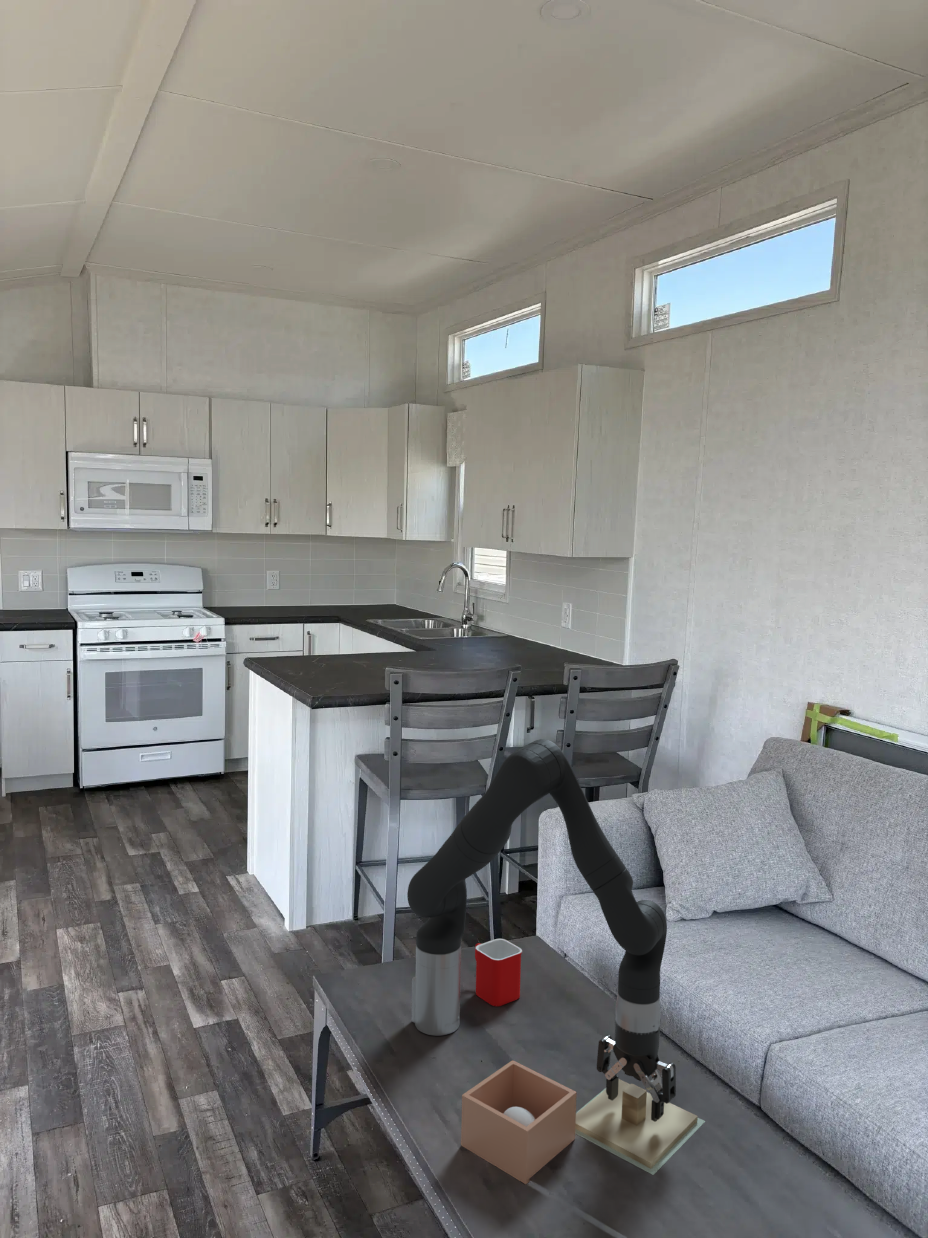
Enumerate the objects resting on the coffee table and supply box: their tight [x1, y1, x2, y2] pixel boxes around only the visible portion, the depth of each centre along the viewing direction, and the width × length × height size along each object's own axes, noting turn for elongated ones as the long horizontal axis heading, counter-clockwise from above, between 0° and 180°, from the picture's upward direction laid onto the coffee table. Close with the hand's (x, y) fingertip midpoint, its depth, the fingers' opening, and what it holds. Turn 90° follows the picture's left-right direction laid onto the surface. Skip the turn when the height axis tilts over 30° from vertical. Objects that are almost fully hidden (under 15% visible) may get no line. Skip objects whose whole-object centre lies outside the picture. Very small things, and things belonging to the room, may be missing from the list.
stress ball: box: [503, 1107, 536, 1127], centre depth 157 cm, size 8×8×7 cm
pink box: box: [460, 1060, 578, 1185], centre depth 156 cm, size 14×14×9 cm
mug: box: [474, 938, 523, 1007], centre depth 206 cm, size 12×8×11 cm
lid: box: [575, 1078, 699, 1169], centre depth 162 cm, size 16×16×6 cm
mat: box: [575, 1087, 706, 1176], centre depth 162 cm, size 18×18×1 cm
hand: (634, 1108), depth 161 cm, fingers open, 8 cm apart
